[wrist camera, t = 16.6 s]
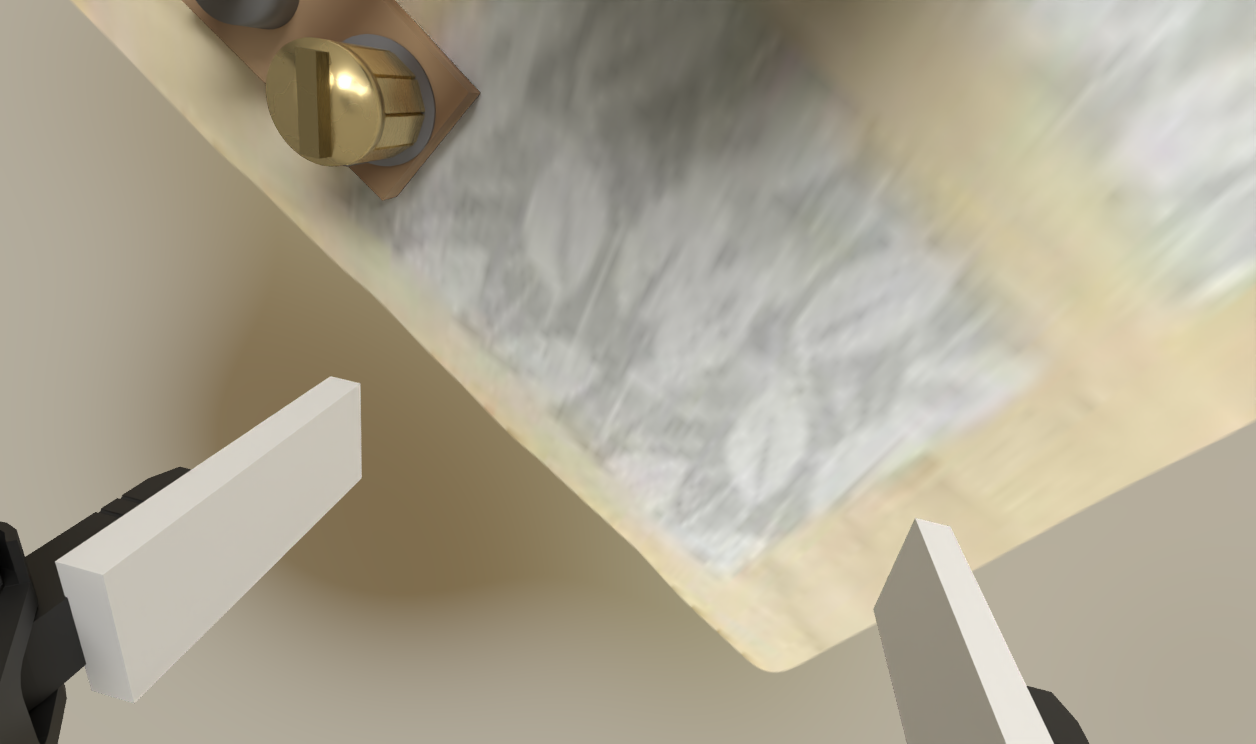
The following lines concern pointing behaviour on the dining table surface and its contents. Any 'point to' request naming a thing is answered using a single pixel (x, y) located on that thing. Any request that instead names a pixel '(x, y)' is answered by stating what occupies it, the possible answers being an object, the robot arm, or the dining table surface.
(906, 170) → the dining table surface
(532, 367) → the dining table surface
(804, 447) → the dining table surface
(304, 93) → the cap
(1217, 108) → the dining table surface
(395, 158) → the post plinth
